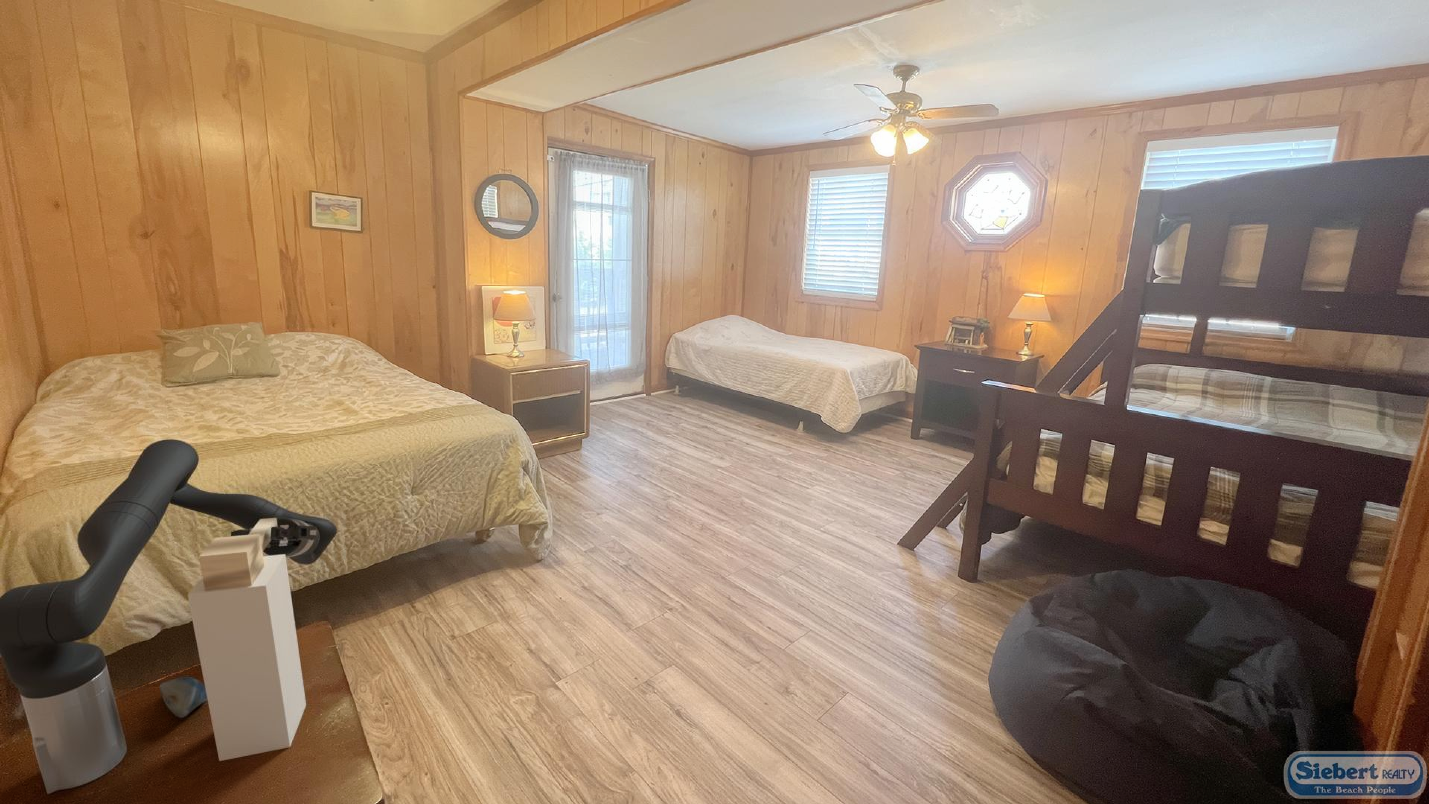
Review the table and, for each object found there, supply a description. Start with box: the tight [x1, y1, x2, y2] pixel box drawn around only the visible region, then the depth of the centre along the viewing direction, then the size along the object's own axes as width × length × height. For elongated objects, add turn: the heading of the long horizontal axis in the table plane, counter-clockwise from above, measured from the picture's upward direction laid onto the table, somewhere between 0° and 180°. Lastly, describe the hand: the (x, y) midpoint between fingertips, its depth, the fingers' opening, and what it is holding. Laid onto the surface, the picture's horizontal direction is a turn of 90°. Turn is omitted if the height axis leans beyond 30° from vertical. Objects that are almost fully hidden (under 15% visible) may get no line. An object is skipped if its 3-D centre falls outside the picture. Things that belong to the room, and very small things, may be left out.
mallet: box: [198, 518, 278, 591], centre depth 101 cm, size 20×6×6 cm, turn 21°
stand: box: [187, 554, 307, 762], centre depth 101 cm, size 10×10×32 cm
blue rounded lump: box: [159, 676, 208, 719], centre depth 109 cm, size 6×9×10 cm
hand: (256, 534), depth 104 cm, fingers open, 4 cm apart
